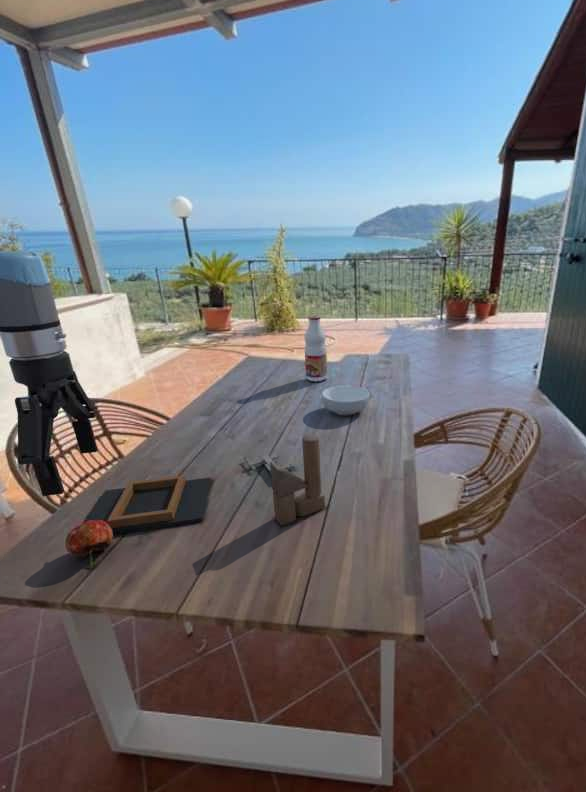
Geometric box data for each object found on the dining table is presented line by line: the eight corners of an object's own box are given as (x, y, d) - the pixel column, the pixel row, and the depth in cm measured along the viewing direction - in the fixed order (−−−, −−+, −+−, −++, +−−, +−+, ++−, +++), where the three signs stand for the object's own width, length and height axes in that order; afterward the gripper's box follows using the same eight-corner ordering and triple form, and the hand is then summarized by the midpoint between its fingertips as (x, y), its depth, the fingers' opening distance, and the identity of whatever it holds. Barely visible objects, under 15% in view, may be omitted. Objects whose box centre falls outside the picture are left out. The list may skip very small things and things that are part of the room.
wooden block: (274, 517, 85) (267, 444, 79) (317, 500, 91) (314, 431, 85) (281, 527, 82) (275, 452, 76) (325, 508, 88) (322, 437, 82)
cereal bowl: (379, 410, 140) (379, 392, 137) (346, 425, 129) (345, 405, 126) (346, 398, 151) (345, 381, 148) (313, 411, 140) (312, 392, 137)
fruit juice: (330, 380, 171) (328, 317, 161) (310, 384, 167) (307, 319, 157) (322, 374, 178) (320, 313, 169) (303, 377, 175) (299, 315, 165)
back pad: (76, 540, 79) (73, 528, 78) (106, 493, 93) (103, 483, 92) (202, 521, 84) (200, 510, 83) (211, 480, 99) (209, 470, 98)
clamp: (300, 468, 100) (262, 481, 94) (300, 476, 100) (263, 488, 95) (277, 445, 111) (242, 455, 106) (277, 452, 112) (243, 462, 107)
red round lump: (119, 564, 76) (120, 514, 81) (102, 558, 70) (104, 504, 74) (77, 576, 74) (80, 524, 79) (55, 571, 68) (60, 515, 73)
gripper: (20, 377, 50) (63, 512, 58) (97, 336, 73) (121, 436, 80) (-49, 381, 49) (4, 520, 56) (52, 338, 72) (80, 440, 79)
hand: (73, 471), depth 68 cm, fingers open, 13 cm apart
